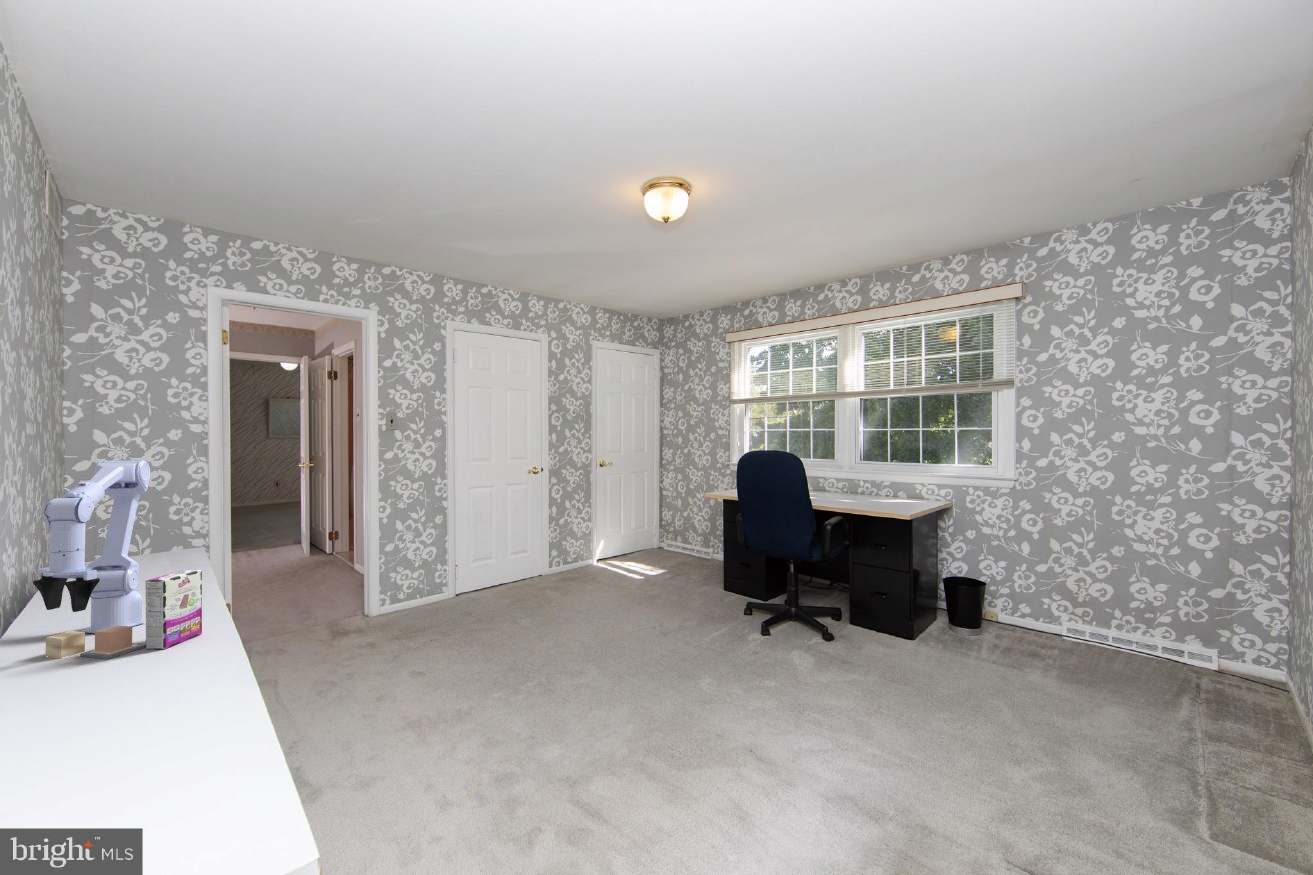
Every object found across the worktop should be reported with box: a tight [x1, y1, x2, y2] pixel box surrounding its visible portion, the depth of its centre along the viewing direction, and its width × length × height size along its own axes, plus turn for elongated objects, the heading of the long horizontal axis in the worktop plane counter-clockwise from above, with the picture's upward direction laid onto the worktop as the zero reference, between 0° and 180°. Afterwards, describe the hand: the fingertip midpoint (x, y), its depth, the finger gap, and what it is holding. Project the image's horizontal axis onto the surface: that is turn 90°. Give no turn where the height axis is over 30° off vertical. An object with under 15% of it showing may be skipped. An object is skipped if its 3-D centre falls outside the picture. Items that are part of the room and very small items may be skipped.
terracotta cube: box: [94, 625, 133, 653], centre depth 132 cm, size 4×4×4 cm
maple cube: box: [45, 630, 86, 659], centre depth 131 cm, size 4×4×4 cm
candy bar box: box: [145, 569, 203, 650], centre depth 139 cm, size 11×5×16 cm, turn 0°
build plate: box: [79, 642, 146, 660], centre depth 132 cm, size 8×8×1 cm
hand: (66, 609), depth 131 cm, fingers open, 7 cm apart
